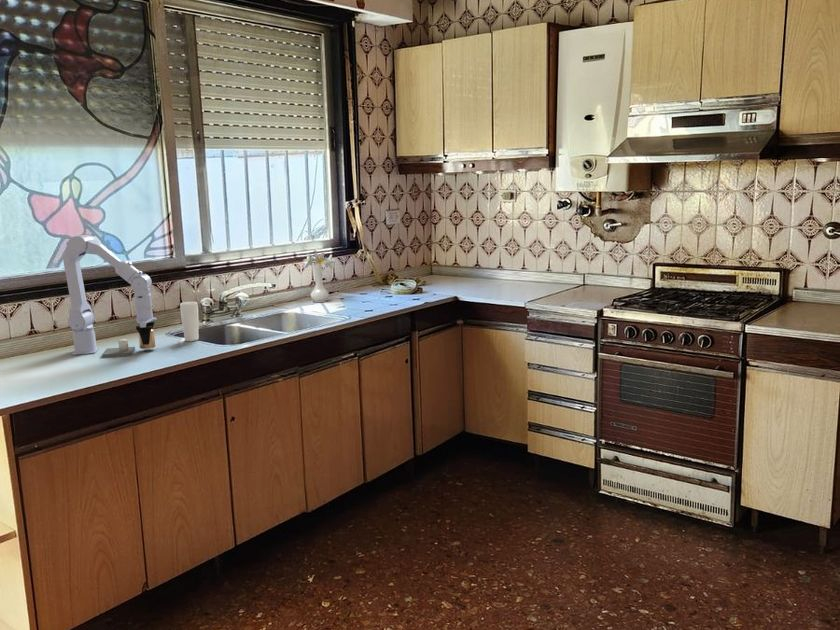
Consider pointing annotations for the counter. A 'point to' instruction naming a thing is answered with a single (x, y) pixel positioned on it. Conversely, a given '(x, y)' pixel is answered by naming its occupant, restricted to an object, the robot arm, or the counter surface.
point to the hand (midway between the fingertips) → (147, 342)
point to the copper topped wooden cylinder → (151, 343)
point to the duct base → (116, 352)
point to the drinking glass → (190, 320)
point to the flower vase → (319, 275)
